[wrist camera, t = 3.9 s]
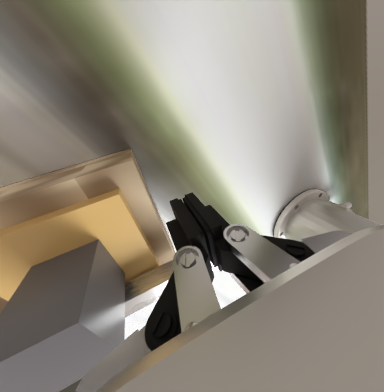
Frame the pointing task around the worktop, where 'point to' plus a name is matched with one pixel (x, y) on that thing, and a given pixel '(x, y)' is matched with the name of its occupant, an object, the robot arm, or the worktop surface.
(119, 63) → the worktop surface
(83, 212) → the plug
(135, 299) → the silver rod
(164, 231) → the socket block
